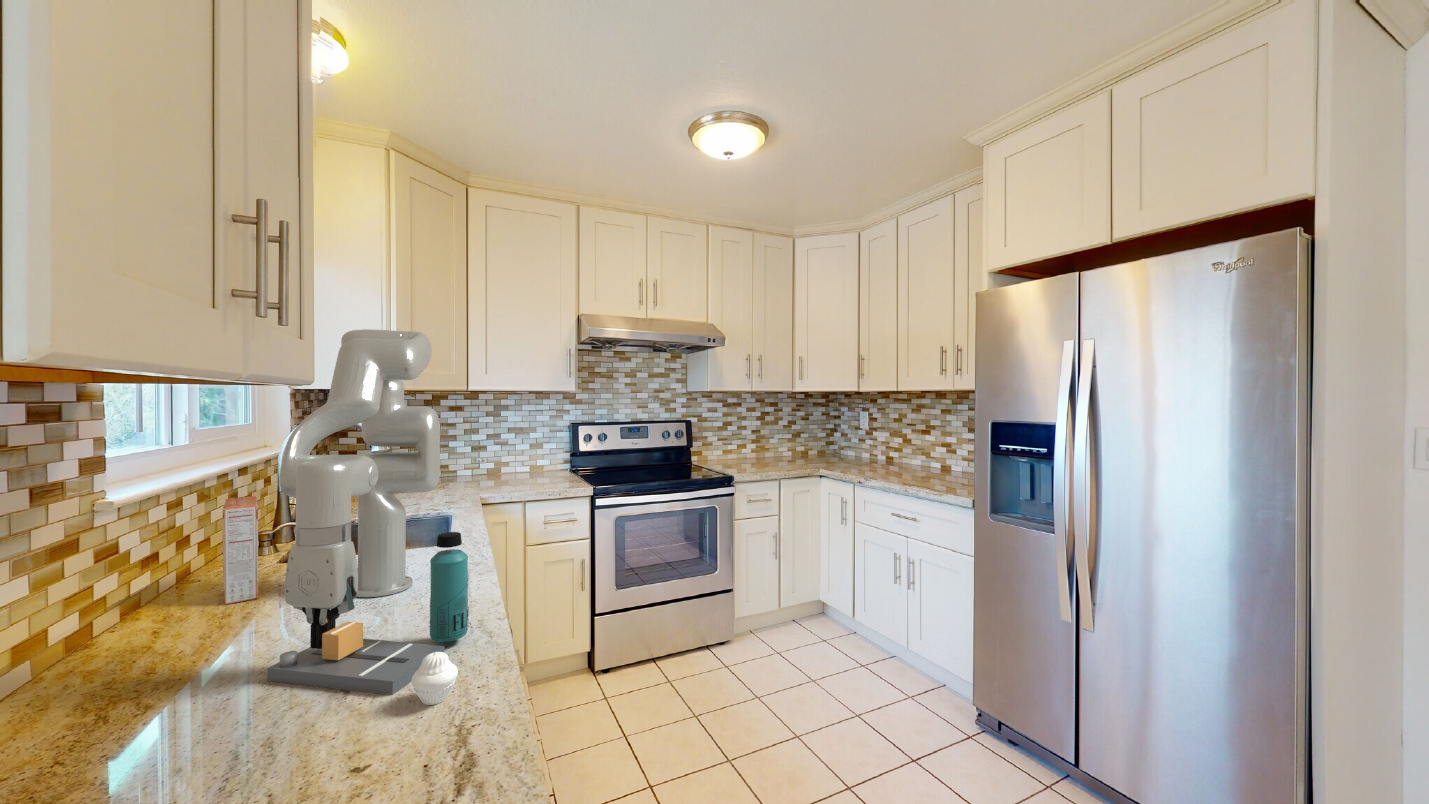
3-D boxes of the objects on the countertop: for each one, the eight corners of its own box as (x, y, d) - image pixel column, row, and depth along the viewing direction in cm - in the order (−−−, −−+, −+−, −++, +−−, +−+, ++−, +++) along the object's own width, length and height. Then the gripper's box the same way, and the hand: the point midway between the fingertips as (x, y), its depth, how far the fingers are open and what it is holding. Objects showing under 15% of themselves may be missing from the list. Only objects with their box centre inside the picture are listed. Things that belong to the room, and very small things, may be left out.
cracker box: (223, 588, 127) (224, 497, 127) (257, 582, 131) (258, 495, 131) (221, 606, 116) (222, 507, 116) (258, 599, 120) (259, 504, 120)
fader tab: (322, 658, 88) (322, 632, 88) (347, 645, 93) (347, 620, 93) (338, 660, 88) (338, 634, 88) (363, 646, 93) (363, 621, 93)
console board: (267, 680, 86) (267, 657, 86) (332, 646, 98) (332, 626, 98) (392, 694, 82) (392, 670, 82) (444, 657, 94) (444, 636, 94)
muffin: (404, 700, 81) (405, 652, 81) (447, 684, 86) (447, 639, 86) (421, 716, 77) (421, 666, 77) (464, 699, 82) (465, 652, 82)
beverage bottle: (453, 652, 96) (454, 538, 96) (419, 648, 98) (421, 536, 97) (476, 637, 103) (477, 530, 102) (445, 633, 104) (445, 528, 104)
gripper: (263, 538, 89) (262, 651, 89) (344, 543, 86) (343, 659, 86) (305, 527, 96) (304, 632, 96) (381, 532, 94) (380, 639, 94)
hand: (323, 644), depth 91 cm, fingers closed
